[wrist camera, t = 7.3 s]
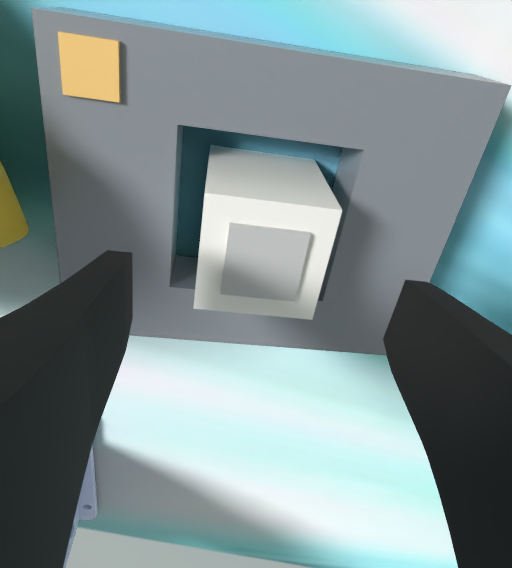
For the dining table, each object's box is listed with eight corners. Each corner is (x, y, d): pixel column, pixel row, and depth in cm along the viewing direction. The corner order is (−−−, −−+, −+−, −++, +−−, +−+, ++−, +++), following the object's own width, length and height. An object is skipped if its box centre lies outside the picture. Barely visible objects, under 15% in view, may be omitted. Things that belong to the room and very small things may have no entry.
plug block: (293, 250, 19) (313, 323, 15) (201, 239, 19) (192, 312, 14) (314, 159, 17) (343, 213, 13) (210, 144, 17) (204, 195, 12)
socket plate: (382, 321, 21) (400, 359, 19) (82, 295, 20) (63, 333, 17) (473, 74, 16) (514, 86, 13) (61, 7, 14) (28, 8, 12)
